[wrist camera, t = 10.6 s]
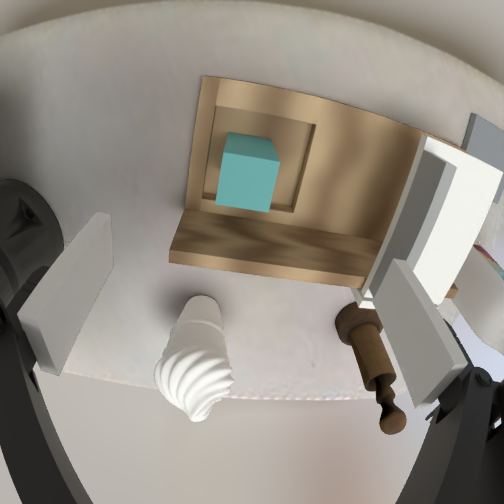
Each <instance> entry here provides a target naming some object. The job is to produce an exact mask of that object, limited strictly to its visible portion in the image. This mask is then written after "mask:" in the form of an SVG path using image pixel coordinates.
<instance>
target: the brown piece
mask: <svg viewBox="0 0 504 504" xmlns="http://www.w3.org/2000/svg"><path fill="white" fill-rule="evenodd" d="M228 132H234V133H240V134H246V135H252V136H257V137H263V138H268V139H271V140H272V143H273V145H274V148H275V150H276V153H277V155H278V158H279V160H280V165H279V170H278V174H277V178H276V183H275V187H274V191H273V196H272V200H271V204H270V208H269V213H268V212H262V211H255V210H249V209H243V208H236V207H230V206H223V205H217V204H215V203H216V196H217V189H218V183H219V177H220V170H221V164H222V158H223V152H224V148H225V144H226V140H227V136H228ZM422 134H424V135H426V136H429V137H431V138H433V139H436V140H438V141H440V142H443V143H445V144H447V145H450V146H452V147H454V148H456V149H458V150H461V151H463V152H465V153H467V154H468V151H466V150H464V149H462V148H460V147H458V146H456V145H453V144H451V143H449V142H447V141H445V140H442V139H440V138H438V137H435V136H433V135H431V134H428V133H426V132H423V131H421V130H418V129H416V128H413V127H411V126H408V125H405V124H403V123H400V122H397V121H395V120H392V119H389V118H386V117H383V116H380V115H378V114H375V113H372V112H368V111H365V110H362V109H359V108H356V107H353V106H349V105H346V104H342V103H339V102H335V101H332V100H328V99H324V98H321V97H317V96H313V95H309V94H305V93H300V92H296V91H292V90H287V89H282V88H278V87H273V86H268V85H262V84H257V83H251V82H245V81H239V80H233V79H226V78H219V77H211V76H203V79H202V84H201V90H200V96H199V103H198V109H197V115H196V122H195V129H194V136H193V143H192V151H191V158H190V166H189V175H188V183H187V192H186V202H185V210H184V212H183V215H182V217H181V220H180V222H179V225H178V228H177V230H176V233H175V236H174V238H173V241H172V244H171V247H170V249H169V263H176V264H183V265H189V266H196V267H203V268H210V269H217V270H224V271H231V272H238V273H245V274H252V275H260V276H267V277H275V278H282V279H290V280H297V281H305V282H313V283H321V284H329V285H337V286H345V287H353V288H362V289H363V286H364V284H365V282H366V280H367V278H368V276H369V273H370V271H371V269H372V267H373V265H374V262H375V260H376V258H377V255H378V253H379V251H380V248H381V246H382V244H383V241H384V239H385V236H386V234H387V232H388V229H389V227H390V224H391V222H392V219H393V217H394V214H395V211H396V209H397V206H398V204H399V201H400V198H401V195H402V193H403V190H404V187H405V184H406V182H407V179H408V176H409V173H410V170H411V167H412V164H413V161H414V158H415V155H416V152H417V149H418V146H419V142H420V139H421V136H422ZM458 290H459V289H458V288H457V287H456V285H455V284H454V283H453V284H452V285H451V287H450V289H449V290H448V292H447V294H446V296H445V297H444V298H454V297H455V295H456V293H457V292H458Z"/></svg>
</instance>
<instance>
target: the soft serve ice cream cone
mask: <svg viewBox="0 0 504 504" xmlns="http://www.w3.org/2000/svg"><path fill="white" fill-rule="evenodd" d="M226 345H227V336H226V334H225V332H224V328H223V323H222V318H221V313H220V309H219V305H218V304H217V302H216V301H215V300H214V299H212V298H210V297H208V296H203V295H199V296H195V297H192V298H191V299H189V300H188V302H187V303H186V305H185V307H184V309H183V311H182V313H181V315H180V317H179V319H178V320H177V322H176V324H175V325H174V326H173V328H172V329H171V332H170V338H169V341H168V344H167V347H166V348H165V349H164V351H163V356H162V358H161V359H160V360H159V361H158V363H157V364H156V367H155V370H154V379H155V383H156V385H157V387H158V389H159V390H160V391H161V393H162V394H163V395H164V397H165V398H166V399H167V400H168V401H169V402H171V403H172V404H173V405H175V406H177V407H178V408H180V409H182V410H184V411H185V412H186V413H187V415H188V417H189V418H190V419H191V421H193V422H197V421H202V420H204V419H206V418H207V417H208V414H209V412H210V411H211V409H212V406H213V403H215V402H216V401H221V400H222V395H224V394H226V393H229V392H230V390H231V389H230V387H229V385H230V384H232V383H233V382H234V379H233V378H232V377H231V376H230V375H229V374H230V372H231V371H232V368H231V367H230V366H229V358H228V356H227V348H226Z"/></svg>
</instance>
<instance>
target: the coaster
mask: <svg viewBox="0 0 504 504" xmlns="http://www.w3.org/2000/svg"><path fill="white" fill-rule="evenodd" d="M461 148H462V149H464V150H466V151H468V154H469V155H471V156H473V157H475V158H477V159H479V160H481V161H483V162H485V163H487V164H489V165H491V166H493V167H495V168H497V169H498V170H500V171H502V172H503V175H502V178H501V180H500V183H499V186H498V188H497V191H496V194H495V196H494V199H493V201H492V202H495V203H497V204H498V202H499V200H500V197H501V195H502V192H503V189H504V131H502V130H500V129H499V128H497V127H496V126H494V125H493V124H491V123H489V122H488V121H486V120H484V119H483V118H481V117H479V116H478V115H475V114H471V117H470V121H469V124H468V128H467V131H466V135H465V138H464V141H463V144H462V147H461Z"/></svg>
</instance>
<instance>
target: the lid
mask: <svg viewBox="0 0 504 504" xmlns="http://www.w3.org/2000/svg"><path fill="white" fill-rule="evenodd" d="M502 175H503V172H502V171H500V170H498V169H497V168H495V167H493V166H491V165H489V164H487V163H485V162H483V161H481V160H479V159H477V158H475V157H473V156H471V155H469V154H467V153H465V152H463V151H461V150H458V149H456V148H454V147H452V146H450V145H447V144H445V143H443V142H440V141H438V140H436V139H433V138H431V137H429V136H426V135H424V134H422V136H421V139H420V142H419V146H418V149H417V152H416V155H415V158H414V161H413V164H412V167H411V170H410V173H409V176H408V179H407V182H406V184H405V187H404V190H403V193H402V195H401V198H400V201H399V204H398V206H397V209H396V211H395V214H394V217H393V219H392V222H391V224H390V227H389V229H388V232H387V234H386V236H385V239H384V241H383V244H382V246H381V248H380V251H379V253H378V255H377V258H376V260H375V262H374V265H373V267H372V269H371V271H370V273H369V276H368V278H367V280H366V282H365V284H364V286H363V289H362V288H353V287H350V288H351V290H352V293H353V295H354V297H355V300H356V302H357V305H358V307H359V308H368V309H375V307H374V305H373V303H372V301H373V299H374V297H375V295H376V293H377V291H378V289H379V287H380V285H381V283H382V281H383V279H384V277H385V275H386V273H387V271H388V269H389V266H390V264H391V262H392V260H393V258H394V259H399V260H405V261H406V262H407V263H408V265H409V266H410V268H411V269H412V271H413V272H414V274H415V275H416V277H417V278H418V280H419V281H420V283H421V284H422V286H423V287H424V289H425V291H426V292H427V294H428V295H429V297H430V298H431V300H432V302H433V303H434V305H435V306H436V308H437V309H438V306H437V305H436V304H441V302H442V301H443V299H444V297H445V296H446V294H447V292H448V290H449V289H450V287H451V285H452V284H453V282H454V280H455V278H456V276H457V275H458V273H459V271H460V269H461V267H462V265H463V263H464V261H465V260H466V258H467V256H468V254H469V252H470V250H471V248H472V246H473V244H474V242H475V239H476V237H477V235H478V233H479V231H480V229H481V227H482V224H483V222H484V220H485V218H486V215H487V213H488V211H489V208H490V206H491V204H492V201H493V199H494V196H495V194H496V191H497V188H498V186H499V183H500V180H501V178H502Z"/></svg>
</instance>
